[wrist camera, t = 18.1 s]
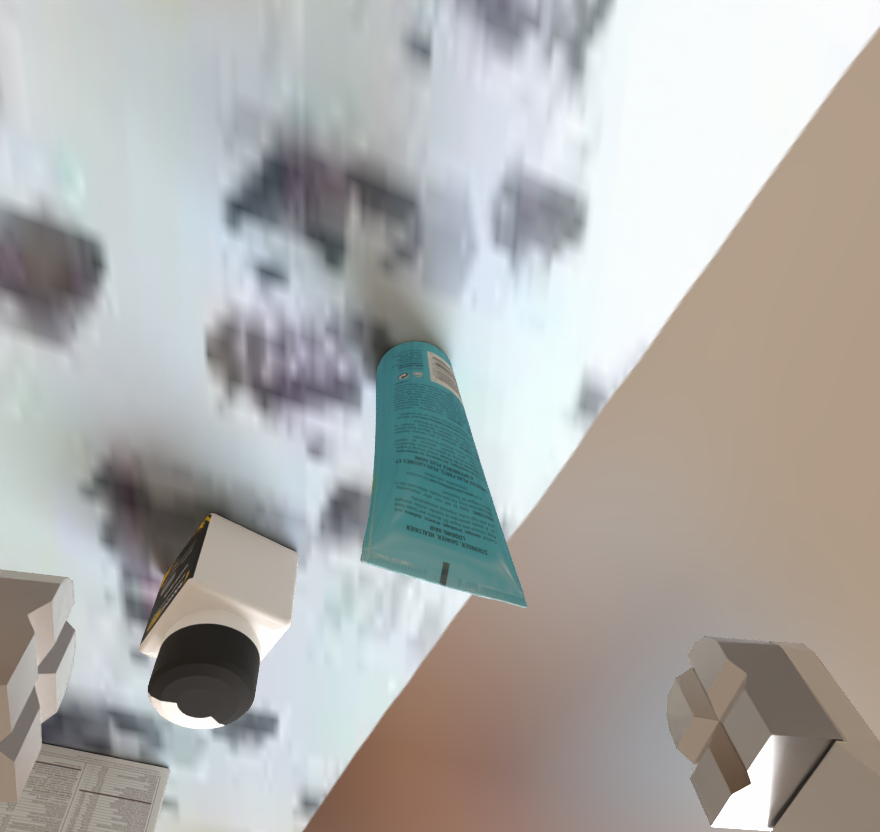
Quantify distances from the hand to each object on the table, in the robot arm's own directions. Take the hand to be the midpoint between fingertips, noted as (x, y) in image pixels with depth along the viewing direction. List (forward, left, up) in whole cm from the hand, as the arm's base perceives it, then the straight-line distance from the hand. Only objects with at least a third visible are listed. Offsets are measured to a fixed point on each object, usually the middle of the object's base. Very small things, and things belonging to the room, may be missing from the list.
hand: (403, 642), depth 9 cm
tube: (+5, -12, -34) cm, 37 cm away
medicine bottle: (-5, -29, -34) cm, 45 cm away
